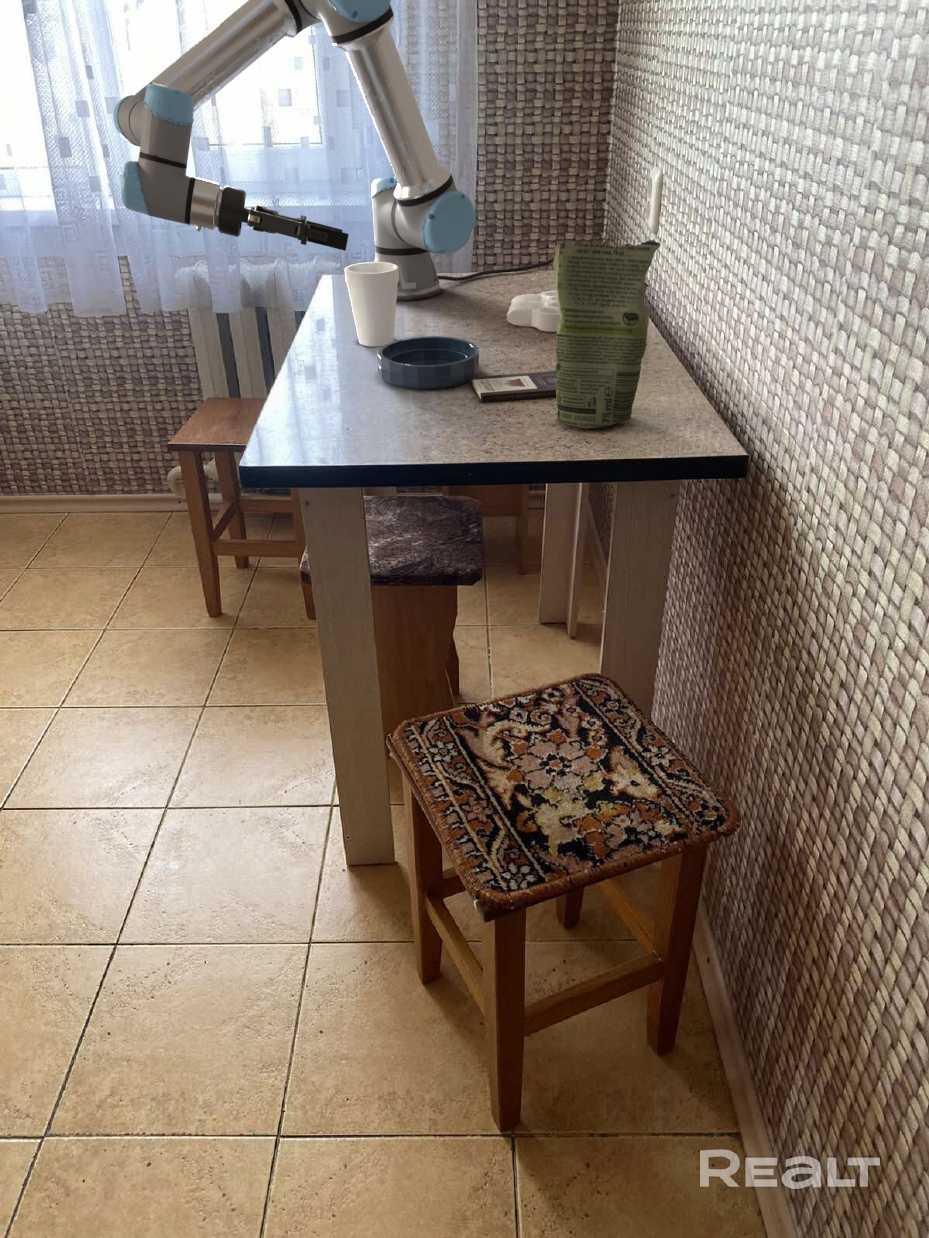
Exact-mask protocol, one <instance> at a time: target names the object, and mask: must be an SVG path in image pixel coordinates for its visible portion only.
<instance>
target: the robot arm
mask: <svg viewBox="0 0 929 1238" xmlns="http://www.w3.org/2000/svg"><path fill="white" fill-rule="evenodd" d="M391 1H392V0H247V1H246V2H244V3H243V4H242V5H241V6H240V7H239V8H237V9H236V10H235V11H233V12H232V13H231V14H230V15H229V16H227V18H225V19H224V20H223V21H222V22H220V23H219V24H218V25H217V26H216V27H214V28H213V29H212V30H211V31H210V32H209V33H207V34H206V35H204V37H202V38H201V39H200V40H199V41H198V42H196V43H195V44H194V45H193V46H192V47H190V48H189V49H188V50H187V51H185V52H184V53H183V54H182V55H181V56H179V57H178V58H177V59H176V60H175V61H174V62H173V63H171V64H170V65H169V66H167V67H166V68H165V69H164V70H163V71H161V72H160V73H159V74H158V75H157V76H156V77H154V78H153V79H152V80H151V81H150V82H149V83H148V84H146V85H144V86H143V87H142V88H141V89H140V90H138V91H137V92H136V93H134V94H130V95H127V96H124V97H122V98H121V99H120V100H118V102H117V103H116V105H115V107H114V109H113V116H112V119H113V123H114V126H115V129H116V131H117V133H118V135H120V136H121V137H122V139H124V140H125V141H126V142H128V143H130V144H132V145H133V146H135V147H138V148H139V151H138V152H139V153H138V159H137V160H134V161H133V160H128V161H126V162H125V164H124V167H123V170H122V171H123V172H122V179H121V188H120V190H121V191H120V193H121V202H122V204H123V206H124V207H125V208H126V209H128V210H130V211H133V212H136V213H139V214H142V215H147V216H149V217H153V218H156V219H157V218H158V219H162V220H165V221H171V222H173V223H174V222H175V223H179V224H183V225H188V226H195V230H196V231H197V232H202V231H203V229H205V230H209V231H214V230H215V229H216V228H217V231H218V232H219V233H220V234H224V235H227V236H232V237H236V238H238V237H240V236H241V234H242V227H243V223H244V224H246V225H247V226H248V227H251V228H252V231H255V232H260V233H267V234H274V235H275V234H279V235H282V236H287V237H290V238H294V239H297V240H298V241H300V242H299V243H300V245H304V246H307V243H313V244H316V245H321V246H325V247H329V248H333V249H336V250H340V251H344V252H346V250H347V246H348V241H349V235H350V234H349V233H347V232H343V231H344V230H343V229H342V228H338V227H333V226H330V225H326V224H322V223H318V222H315V221H310V220H307V216H305V215H301V214H300V217H292V216H289V215H284V214H280V213H279V212H278V211H276V210H273V209H268V208H267V206H263V205H259V204H256V206H255V207H254V206H250V207H246V198H247V192H246V190H244V189H241V188H237V187H234V186H229V185H225V186H224V185H223V187H221V184H220V183H219V182H215V181H211V180H207V179H204V178H200V177H194V176H190V175H187V168H188V160H189V153H190V145H191V137H192V129H193V124H194V120H195V119H194V112H196V111H197V110H198V109H200V108H201V107H202V106H203V105H204V104H206V103H207V102H208V101H209V100H210V99H211V98H213V97H214V96H215V95H217V94H218V93H219V92H220V91H221V90H222V89H223V88H225V87H226V86H227V85H228V84H229V83H231V82H232V81H233V80H234V79H235V78H237V77H238V76H239V75H240V74H241V73H243V72H244V71H245V70H247V68H248V67H250V66H251V65H253V63H254V62H256V61H257V60H259V58H261V57H262V56H263V55H264V54H265V53H267V52H268V51H269V50H270V49H272V48H273V47H274V46H275V45H276V44H277V43H279V42H280V41H281V40H282V39H284V38H285V37H287V38H295V37H296V36H297V35H298V34H299V33H301V32H302V31H303V30H305V29H307V28H309V27H311V26H313V25H316V24H320V23H323V24H324V27H325V29H326V32H327V34H328V37H329V39H330V42H331V43H332V46H334V47H336V48H338V49H340V50H343V52H344V53H345V55H346V58H347V60H348V63H349V65H350V67H351V70H352V72H353V75H354V77H355V80H356V82H357V84H358V88H359V91H360V93H361V95H362V98H363V99H364V102H365V105H366V107H367V109H368V112H369V115H370V116H371V120H372V122H373V125H374V127H375V129H376V132H377V134H378V138H379V139H380V142H381V144H382V147H383V150H384V152H385V155H386V157H387V159H388V162H389V165H390V167H391V169H392V172H393V175H394V176H387V177H378V178H375V179H374V180H373V181H372V183H371V194H370V201H371V209H372V210H371V211H372V224H373V238H374V239H373V240H374V255H375V256H374V261H373V262H386V263H392V264H396V265H397V266H398V270H399V281H398V287H397V301H411V300H421V299H426V298H431V297H433V296H435V295H438V293H440V291H441V290H440V289H441V288H440V287H441V286H440V280H441V281H451V282H452V281H453V282H462V281H468V280H470V279H474V278H478V277H481V276H487V275H495V274H504V273H516V272H522V271H527V270H532V269H536V268H539V267H545V266H548V265H550V264H552V262H553V260H554V257H552V258H550V259H548V260H547V261H543V262H538V263H534V264H530V265H526V266H520V267H512V268H501V269H491V270H483V271H479V272H476V273H472V274H469V275H465V276H450V275H438V273H437V270H436V267H435V264H434V261H433V257H432V255H431V253H432V254H436V255H439V254H441V255H451V254H455V253H456V252H458V251H460V250H461V249H462V248H463V247H464V246H466V244H467V243H468V242H469V241H470V239H471V237H472V233H473V230H474V229H475V224H476V211H475V207H474V204H473V201H472V200H471V199H470V197H468V195H466V194H465V193H463V192H462V191H460V190H458V189H457V186H456V183H455V181H454V178H453V174H452V172H451V170H450V168H449V167H446V166H445V165H441V164H440V163H439V160H438V158H437V154H436V151H435V149H434V147H433V144H432V141H431V138H430V135H429V133H428V131H427V127H426V125H425V122H424V120H423V117H422V114H421V111H420V108H419V106H418V102H417V100H416V97H415V95H414V92H413V89H412V87H411V84H410V81H409V78H408V76H407V73H406V70H405V67H404V65H403V62H402V60H401V57H400V56H401V55H400V54H399V51H398V48H397V46H396V43H395V40H394V37H393V34H392V32H391V27H392V24H393V22H394V19H395V14H394V12H393V8H392V5H391Z"/></svg>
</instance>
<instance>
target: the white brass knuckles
mask: <svg viewBox="0 0 929 1238" xmlns="http://www.w3.org/2000/svg"><path fill="white" fill-rule="evenodd" d="M508 307H509V309H508V311H507V313H506V321H507V322H508V323H509V324H511V325H514V326H519V327H532V328H536V329H537V330H539V331H542V332H548V333H557V328H558V325H559V322H560V312H559V306H558V299H557V289H555V290H546V291H543V292H540V293H536V294H535V293H532V294H531V293H525V294H519V295H516V296H515V297H514V298H512V299H511V303H510V305H509V306H508Z"/></svg>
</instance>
